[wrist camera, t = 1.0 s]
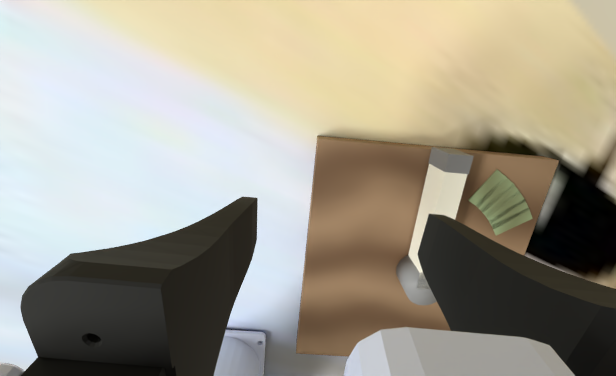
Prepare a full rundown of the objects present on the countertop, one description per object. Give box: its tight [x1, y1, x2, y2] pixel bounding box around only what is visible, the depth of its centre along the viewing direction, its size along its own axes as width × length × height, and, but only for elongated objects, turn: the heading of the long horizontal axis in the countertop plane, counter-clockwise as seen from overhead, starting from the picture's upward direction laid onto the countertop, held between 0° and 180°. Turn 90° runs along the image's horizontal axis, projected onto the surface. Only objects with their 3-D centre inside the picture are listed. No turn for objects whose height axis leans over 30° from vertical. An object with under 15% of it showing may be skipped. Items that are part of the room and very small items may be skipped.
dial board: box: [296, 136, 559, 356], centre depth 25 cm, size 20×18×2 cm
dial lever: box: [396, 147, 474, 305], centre depth 21 cm, size 12×3×3 cm, turn 175°
